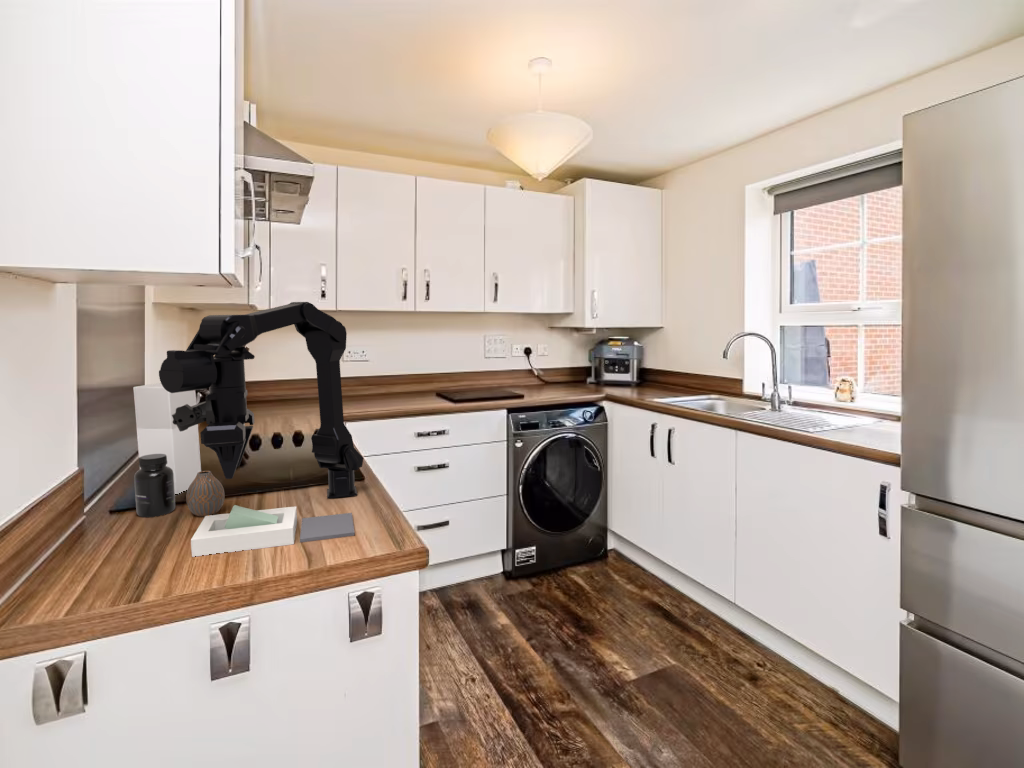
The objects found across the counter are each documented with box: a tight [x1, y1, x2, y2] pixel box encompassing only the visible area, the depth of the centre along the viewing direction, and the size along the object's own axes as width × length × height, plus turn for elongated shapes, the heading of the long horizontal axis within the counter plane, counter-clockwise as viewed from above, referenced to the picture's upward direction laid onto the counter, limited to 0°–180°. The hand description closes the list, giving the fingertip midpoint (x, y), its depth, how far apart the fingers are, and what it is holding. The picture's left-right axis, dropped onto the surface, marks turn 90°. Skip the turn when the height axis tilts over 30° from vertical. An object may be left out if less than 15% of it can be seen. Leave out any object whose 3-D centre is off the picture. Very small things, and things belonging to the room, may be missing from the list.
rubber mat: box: [299, 512, 355, 543], centre depth 104 cm, size 11×10×1 cm
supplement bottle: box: [133, 454, 176, 518], centre depth 112 cm, size 7×7×12 cm
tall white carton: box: [133, 382, 202, 495], centre depth 127 cm, size 9×9×25 cm
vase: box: [185, 470, 225, 517], centre depth 111 cm, size 7×7×9 cm
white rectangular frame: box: [190, 505, 298, 558], centre depth 99 cm, size 12×16×3 cm
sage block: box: [224, 504, 278, 529], centre depth 99 cm, size 4×8×3 cm, turn 109°
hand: (232, 472), depth 97 cm, fingers open, 8 cm apart
